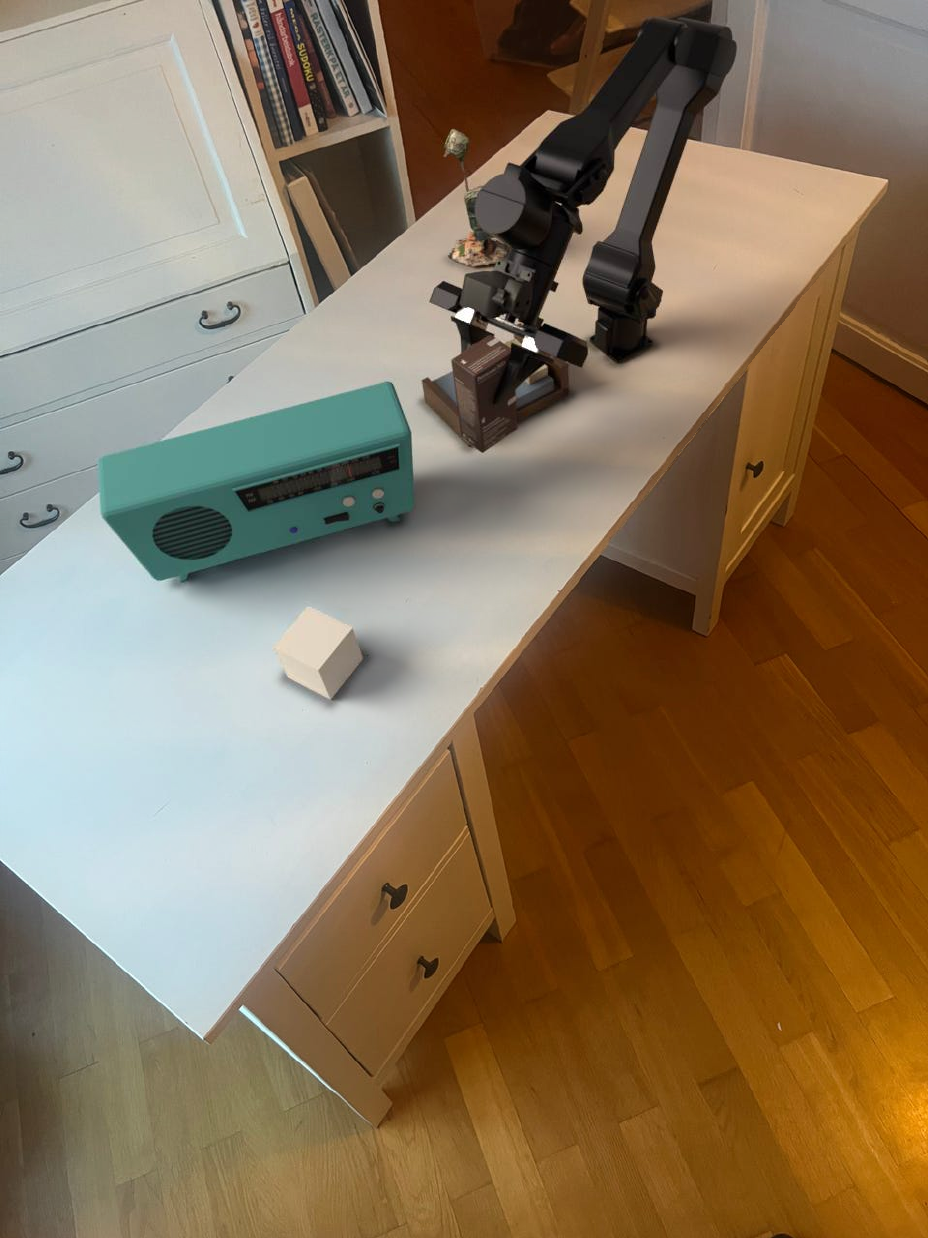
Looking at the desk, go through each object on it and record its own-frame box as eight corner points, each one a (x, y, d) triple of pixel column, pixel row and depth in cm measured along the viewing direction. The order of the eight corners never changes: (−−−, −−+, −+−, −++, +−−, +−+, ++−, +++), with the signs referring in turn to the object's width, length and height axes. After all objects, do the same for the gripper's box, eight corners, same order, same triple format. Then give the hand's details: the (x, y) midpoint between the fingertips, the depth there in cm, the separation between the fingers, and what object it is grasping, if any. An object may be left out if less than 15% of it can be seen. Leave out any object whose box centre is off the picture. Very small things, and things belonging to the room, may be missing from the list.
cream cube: (330, 700, 94) (317, 670, 90) (287, 677, 97) (272, 647, 92) (363, 658, 97) (352, 627, 92) (320, 636, 99) (307, 605, 94)
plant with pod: (500, 280, 135) (491, 148, 118) (441, 259, 139) (424, 129, 123) (529, 252, 138) (525, 120, 122) (471, 233, 143) (459, 103, 126)
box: (484, 456, 105) (473, 375, 95) (460, 437, 108) (447, 357, 98) (521, 429, 107) (515, 348, 97) (497, 412, 109) (488, 331, 99)
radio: (153, 606, 104) (98, 521, 92) (147, 542, 110) (95, 454, 98) (430, 528, 107) (413, 436, 95) (410, 470, 113) (391, 376, 101)
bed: (521, 353, 124) (520, 322, 120) (568, 394, 118) (568, 363, 114) (425, 402, 120) (420, 371, 116) (468, 447, 115) (465, 416, 110)
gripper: (428, 213, 94) (377, 355, 98) (573, 267, 86) (510, 419, 91) (481, 243, 103) (432, 371, 108) (615, 295, 95) (556, 431, 100)
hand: (479, 396), depth 101 cm, fingers closed on box, 4 cm apart
